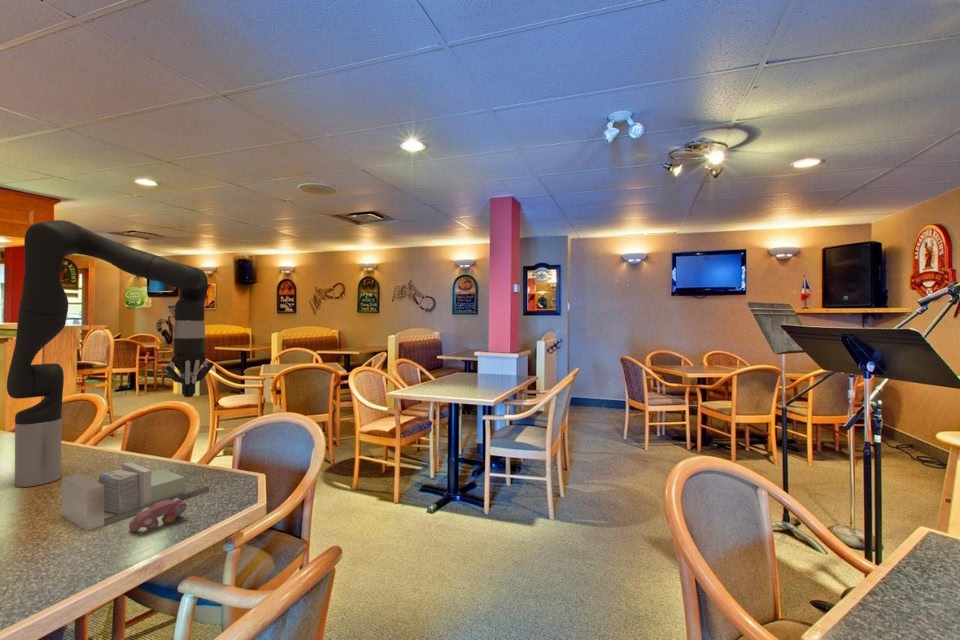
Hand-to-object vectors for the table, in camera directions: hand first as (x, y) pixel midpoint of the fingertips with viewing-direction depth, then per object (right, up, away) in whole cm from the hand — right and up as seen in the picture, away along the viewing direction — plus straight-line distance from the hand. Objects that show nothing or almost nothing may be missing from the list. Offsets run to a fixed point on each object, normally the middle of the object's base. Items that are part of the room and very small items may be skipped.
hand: (188, 396), depth 123 cm
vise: (-2, -24, -14) cm, 28 cm away
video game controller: (+11, -25, -26) cm, 38 cm away
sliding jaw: (-1, -24, -12) cm, 27 cm away
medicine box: (-5, -24, -18) cm, 31 cm away
